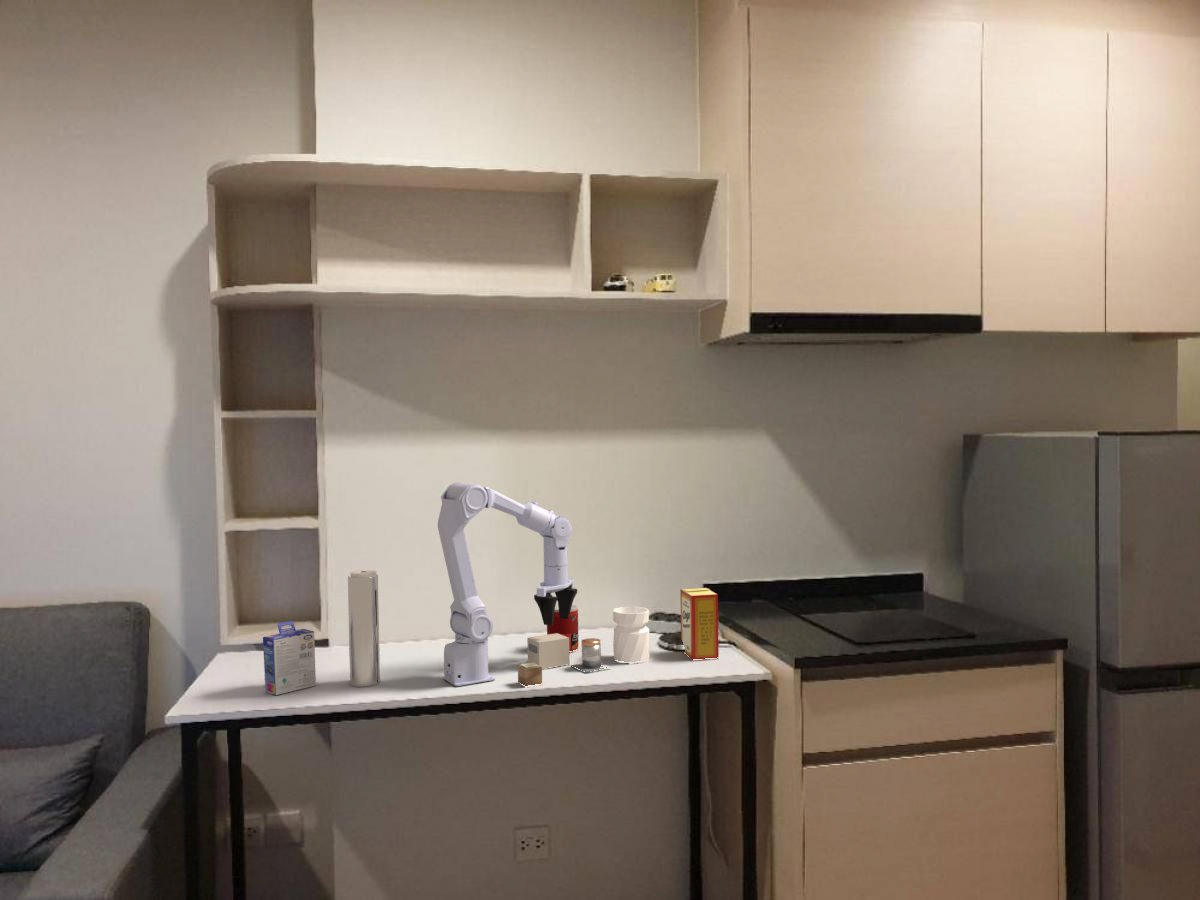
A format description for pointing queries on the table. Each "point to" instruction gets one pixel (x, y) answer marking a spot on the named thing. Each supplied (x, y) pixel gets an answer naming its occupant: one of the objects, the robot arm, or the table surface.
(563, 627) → the canned food
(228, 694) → the table surface
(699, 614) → the red and yellow box
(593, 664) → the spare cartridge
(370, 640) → the beige tall cylinder
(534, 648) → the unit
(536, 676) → the walnut block
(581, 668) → the pad
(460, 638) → the robot arm
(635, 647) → the white faceted vase
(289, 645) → the ink cartridge box
